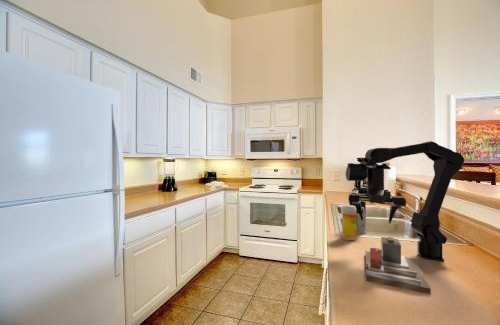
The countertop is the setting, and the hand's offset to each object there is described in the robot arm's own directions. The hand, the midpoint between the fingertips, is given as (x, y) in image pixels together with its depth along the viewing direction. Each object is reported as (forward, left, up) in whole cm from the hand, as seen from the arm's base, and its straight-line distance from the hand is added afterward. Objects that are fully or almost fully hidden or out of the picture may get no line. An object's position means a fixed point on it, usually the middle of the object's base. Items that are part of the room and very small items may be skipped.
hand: (375, 221), depth 86 cm
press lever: (+1, +21, -10) cm, 23 cm away
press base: (-4, +14, -12) cm, 19 cm away
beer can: (+10, -14, -12) cm, 21 cm away
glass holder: (+6, -26, -12) cm, 29 cm away
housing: (-4, +9, -10) cm, 14 cm away
